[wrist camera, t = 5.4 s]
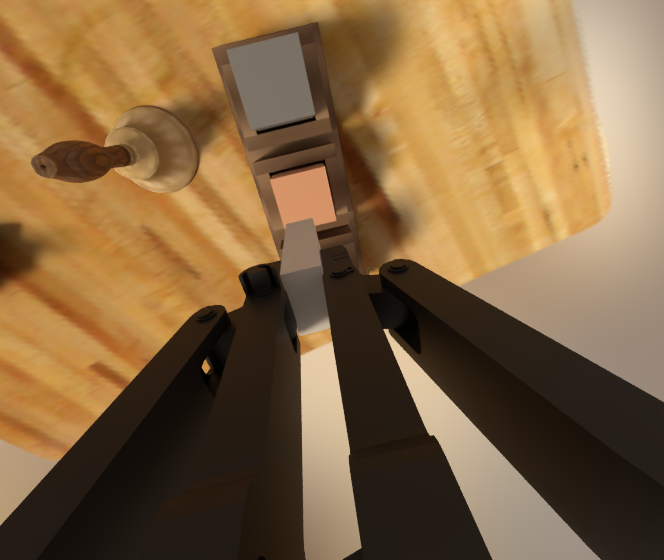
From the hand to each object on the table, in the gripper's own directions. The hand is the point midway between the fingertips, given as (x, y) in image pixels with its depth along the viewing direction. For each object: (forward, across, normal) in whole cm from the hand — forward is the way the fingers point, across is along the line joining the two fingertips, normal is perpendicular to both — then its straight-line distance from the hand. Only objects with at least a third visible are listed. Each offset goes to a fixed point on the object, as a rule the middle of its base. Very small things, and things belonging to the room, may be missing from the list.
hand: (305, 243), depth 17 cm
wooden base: (+20, 0, 0) cm, 20 cm away
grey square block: (+16, 0, +9) cm, 18 cm away
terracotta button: (+18, 0, 0) cm, 18 cm away
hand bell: (+20, -14, +7) cm, 25 cm away
